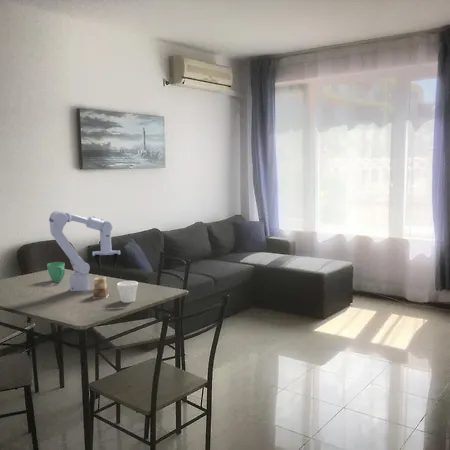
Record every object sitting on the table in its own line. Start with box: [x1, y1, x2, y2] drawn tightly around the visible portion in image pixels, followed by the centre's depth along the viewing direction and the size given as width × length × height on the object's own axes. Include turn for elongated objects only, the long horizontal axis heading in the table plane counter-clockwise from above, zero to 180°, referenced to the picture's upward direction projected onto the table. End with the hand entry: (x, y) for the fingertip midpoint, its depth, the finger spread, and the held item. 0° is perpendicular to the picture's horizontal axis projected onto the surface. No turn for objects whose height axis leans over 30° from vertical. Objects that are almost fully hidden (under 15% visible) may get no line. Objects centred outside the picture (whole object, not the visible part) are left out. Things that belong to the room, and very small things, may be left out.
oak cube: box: [93, 276, 108, 290], centre depth 254 cm, size 5×5×5 cm
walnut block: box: [92, 286, 109, 299], centre depth 254 cm, size 6×6×4 cm
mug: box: [46, 261, 66, 283], centre depth 291 cm, size 15×10×10 cm
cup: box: [116, 280, 139, 304], centre depth 244 cm, size 10×10×9 cm
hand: (107, 268), depth 277 cm, fingers open, 7 cm apart
